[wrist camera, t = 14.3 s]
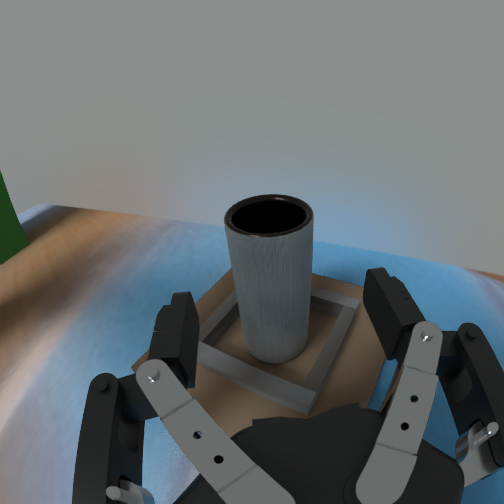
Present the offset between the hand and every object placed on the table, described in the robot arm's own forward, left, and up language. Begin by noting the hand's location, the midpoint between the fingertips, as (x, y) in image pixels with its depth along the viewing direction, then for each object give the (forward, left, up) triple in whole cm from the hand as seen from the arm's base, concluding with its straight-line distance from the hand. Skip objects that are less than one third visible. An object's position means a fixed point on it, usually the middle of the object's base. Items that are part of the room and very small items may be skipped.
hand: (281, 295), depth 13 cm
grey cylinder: (-2, +3, -8) cm, 9 cm away
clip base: (-2, +3, -9) cm, 10 cm away
